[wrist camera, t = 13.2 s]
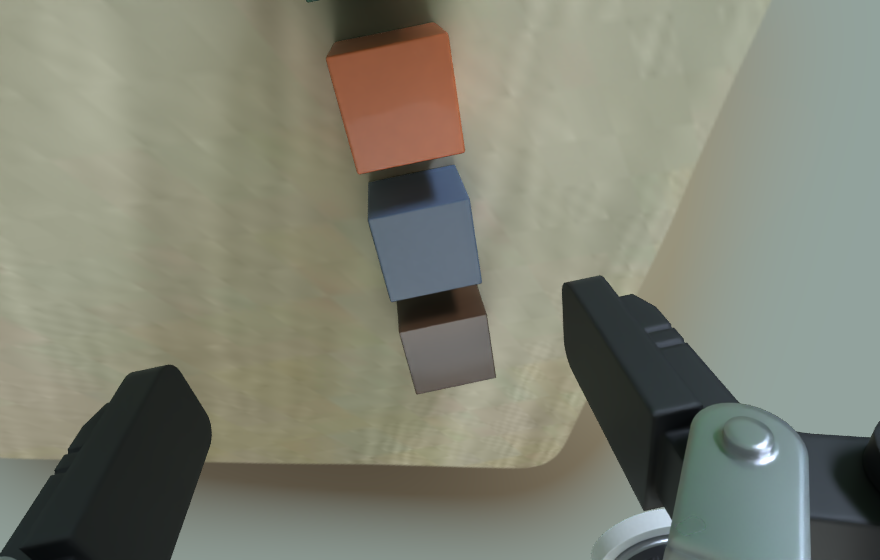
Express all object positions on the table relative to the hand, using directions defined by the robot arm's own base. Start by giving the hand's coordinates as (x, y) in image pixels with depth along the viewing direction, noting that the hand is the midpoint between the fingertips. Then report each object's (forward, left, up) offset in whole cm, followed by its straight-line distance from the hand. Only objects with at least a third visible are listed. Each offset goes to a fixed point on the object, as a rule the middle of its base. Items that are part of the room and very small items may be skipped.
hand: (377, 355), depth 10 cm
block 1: (+2, -2, -17) cm, 17 cm away
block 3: (-11, -1, -16) cm, 20 cm away
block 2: (-5, -1, -16) cm, 17 cm away
